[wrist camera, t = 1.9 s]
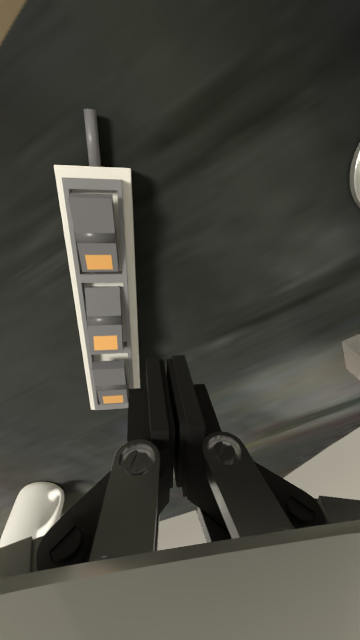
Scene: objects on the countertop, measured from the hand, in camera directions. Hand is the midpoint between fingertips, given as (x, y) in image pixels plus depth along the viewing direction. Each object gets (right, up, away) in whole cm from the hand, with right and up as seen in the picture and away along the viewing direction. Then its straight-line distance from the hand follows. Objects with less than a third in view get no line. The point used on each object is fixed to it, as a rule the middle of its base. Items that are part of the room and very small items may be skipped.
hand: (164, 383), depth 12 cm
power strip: (-9, +7, +25) cm, 27 cm away
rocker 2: (-9, +3, +21) cm, 23 cm away
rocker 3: (-9, -6, +26) cm, 28 cm away
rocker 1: (-8, +12, +17) cm, 22 cm away
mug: (-25, -31, +42) cm, 58 cm away
